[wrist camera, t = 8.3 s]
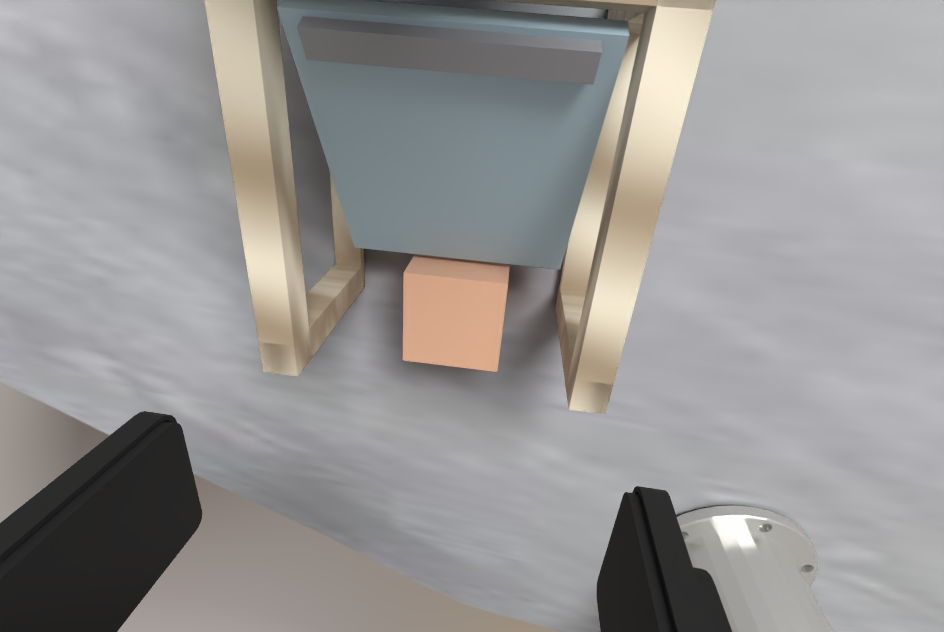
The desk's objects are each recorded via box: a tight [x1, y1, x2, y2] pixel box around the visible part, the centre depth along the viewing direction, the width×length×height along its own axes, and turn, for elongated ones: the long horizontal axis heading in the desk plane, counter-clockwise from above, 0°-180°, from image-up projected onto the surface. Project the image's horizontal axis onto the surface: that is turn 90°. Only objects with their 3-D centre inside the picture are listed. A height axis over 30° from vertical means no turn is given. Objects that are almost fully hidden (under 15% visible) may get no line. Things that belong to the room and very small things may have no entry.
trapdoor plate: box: [277, 0, 629, 270], centre depth 19 cm, size 12×10×1 cm
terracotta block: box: [403, 254, 510, 372], centre depth 26 cm, size 5×5×5 cm
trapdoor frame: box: [205, 0, 716, 414], centre depth 20 cm, size 16×14×10 cm
